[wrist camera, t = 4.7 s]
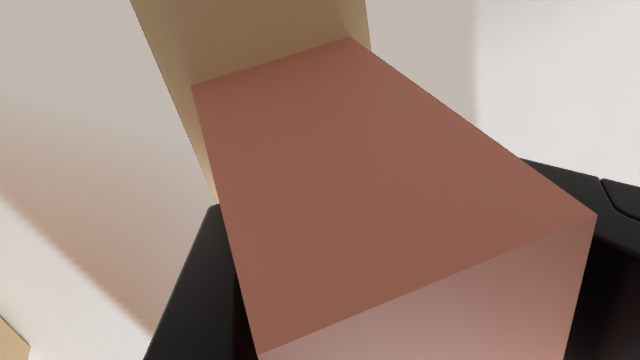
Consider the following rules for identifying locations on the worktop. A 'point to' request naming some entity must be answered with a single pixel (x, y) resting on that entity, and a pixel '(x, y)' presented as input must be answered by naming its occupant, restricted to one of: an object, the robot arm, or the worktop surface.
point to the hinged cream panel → (12, 344)
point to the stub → (363, 193)
